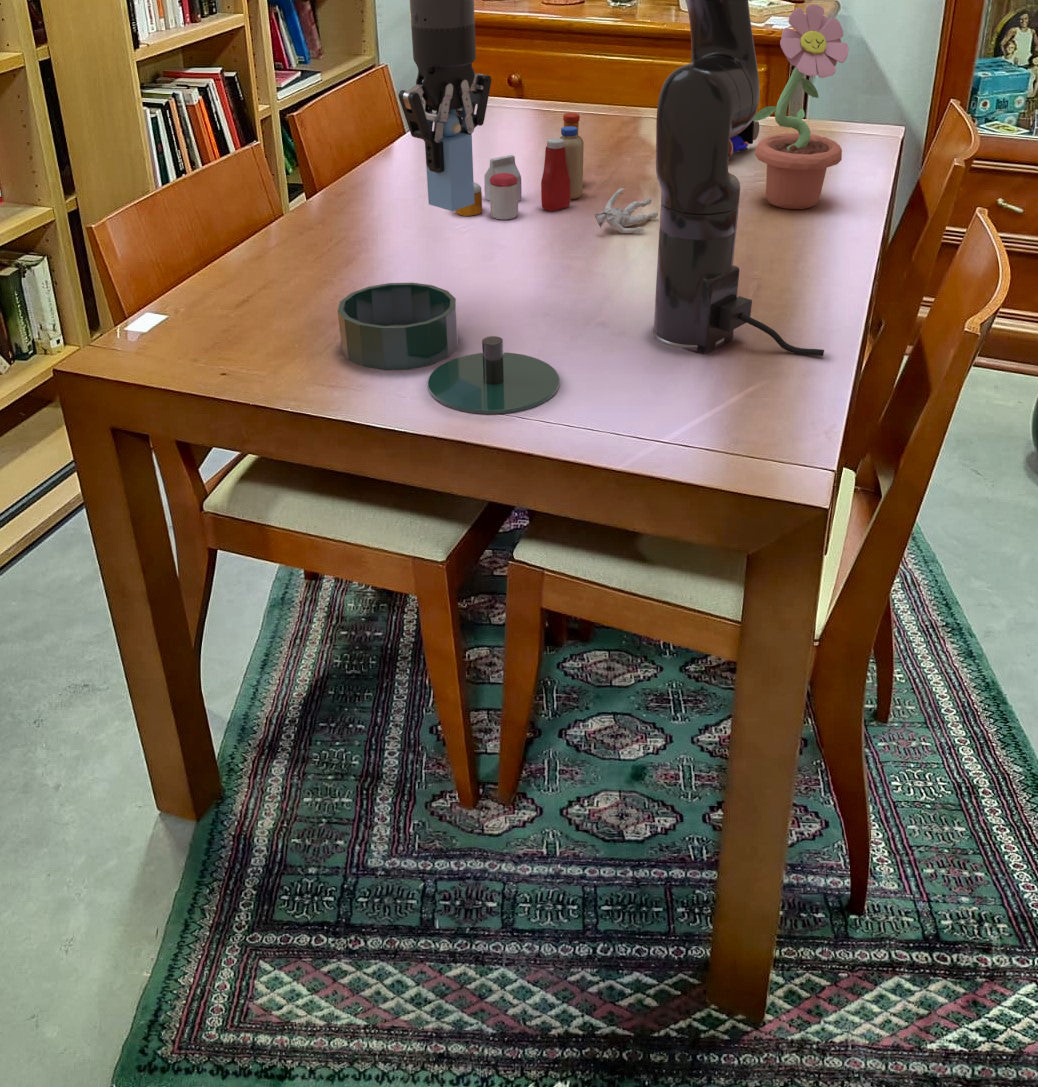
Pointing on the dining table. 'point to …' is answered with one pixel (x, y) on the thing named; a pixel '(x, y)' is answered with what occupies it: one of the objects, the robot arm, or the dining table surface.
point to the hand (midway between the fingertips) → (450, 166)
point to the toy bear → (453, 169)
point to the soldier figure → (624, 215)
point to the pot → (398, 345)
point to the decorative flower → (802, 113)
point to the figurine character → (743, 138)
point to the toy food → (557, 179)
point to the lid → (493, 381)
